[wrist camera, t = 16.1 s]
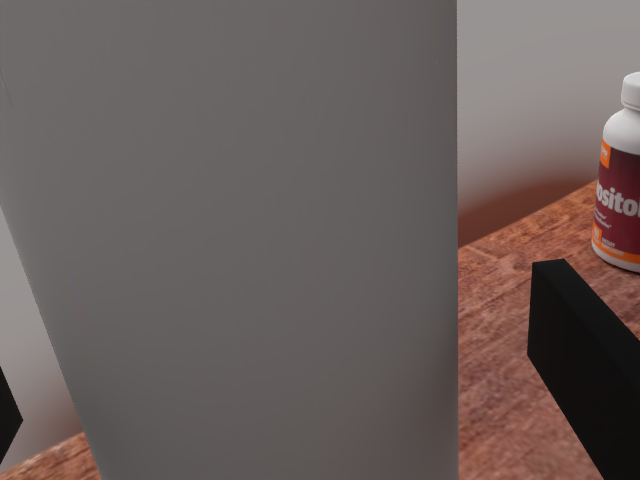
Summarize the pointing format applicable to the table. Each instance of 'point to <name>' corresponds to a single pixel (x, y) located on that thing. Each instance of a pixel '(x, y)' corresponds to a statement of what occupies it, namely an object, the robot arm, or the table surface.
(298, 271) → the container
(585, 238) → the table surface
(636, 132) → the pill bottle
